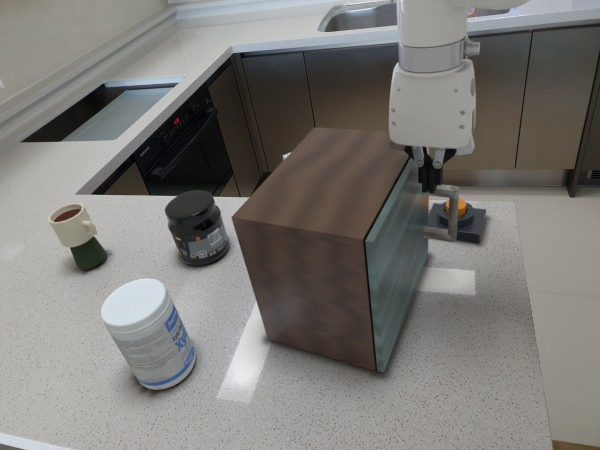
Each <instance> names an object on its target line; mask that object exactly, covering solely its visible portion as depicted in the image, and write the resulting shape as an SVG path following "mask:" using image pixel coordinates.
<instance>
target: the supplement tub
mask: <svg viewBox="0 0 600 450" xmlns="http://www.w3.org/2000/svg"><path fill="white" fill-rule="evenodd" d="M100 317H101V319H102V321H103V324H104V327H105V329H106V330H107V332H108V333H109V335H110V337H111V338H112V340H113V341H114V343H115V345H116V347H117V349H118V350H119V352H120V353H121V356H123V358H124V360H125V362H126V363H127V365H128V366H129V368H130V370H131V371H132V374H133V375H134V376H135V378H136V380H137V381H138V382H139V384H141V386H143V387H145V388H146V389H150V390H155V391H158V390H165V389H166V390H167V389H169V388H172V387H173V386H176V385H177V384H179V383H180V382H182V381H183V380H184V379H185V378H186V377H187V376H188V375H189V374H190V373H191V371H192V370H193V368H194V365H195V363H196V357H197V353H196V348H195V347H194V344H193V341H192V340H191V338H190V336H189V334H188V331H187V329H186V326H185V324H184V323H183V320H182V318H181V316H180V313H179V311H178V309H177V308H176V305H175V303H174V300H173V298H172V296H171V294H170V292H169V291H168V289H167V288H166V286H165V285H164V283H162V281H160V280H158V279H156V278H146V277H145V278H139V279H135V280H132V281H128V282H126V283H125V284H122V285H121V286H119V287H117V288H116V289H115V290H113V291H112V292H111V293H110V294H109V295H108V296H107V298H106V299H105V300H104V302H103V303H102V306H101V309H100Z"/></svg>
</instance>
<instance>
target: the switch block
mask: <svg viewBox="0 0 600 450" xmlns="http://www.w3.org/2000/svg"><path fill="white" fill-rule="evenodd" d="M447 201H448V200H447ZM447 201H444V202H443V203H437V202H434V203H432V207H431V209H430V210H429V220H428V227H433V228H440V229H447V230H448V214H447V213H446V202H447ZM486 218H487V209H486V208H477V207H473V205H472V204H470V203H468V202H466V213H465V214H464V215H463V216H459V217H458V222H457V239H456V241H459V242H466V243H472V244H480V241H481V237H482V233H483V230H484V226H485V222H486Z"/></svg>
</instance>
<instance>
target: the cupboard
mask: <svg viewBox="0 0 600 450" xmlns="http://www.w3.org/2000/svg"><path fill="white" fill-rule="evenodd" d="M390 141H391V139H390V134H389V131H383V130H368V129H367V130H365V129H352V128H351V129H350V128H335V127H334V128H333V127H331V128H330V127H316V126H315V127H313V128H312V130H310V132H308V133H307V135H306V136H305V137H304V138H303V139H301V141H300V142H299V143H298V144H297V146H296V147H294V148H293V150H292V151H291V152H289V153H290V154H289V155H288V156H287V158H286V159H285V160H284V161H282V162H280V164H279V165H278V166H277V167H276V168H275V169H274V170H273V171H272V172H271V174H270V175H269V176H268V177H267V178H266V179H265V180H264V181H263V182H262V183H261V185H260V186H259V187H258V188H257V189H256V190H255V191H254V192H253V193H252V194H250V196H249V197H248V198H247V200H246V201H245V202H244V203H243V204H242V205H241V206H240V207H239V208H238V209H237V210H236V211H235V213H233V215H232V216H230V217H231V221H232V224H233V228H234V231H235V234H236V238H237V242H238V245H239V248H240V251H241V254H242V257H243V262H244V265H245V268H246V271H247V275H248V278H249V282H250V284H251V288H252V291H253V294H254V298H255V302H256V304H257V308H258V311H259V314H260V318H261V321H262V325H263V327H264V331H265V334H266V337H267V340H269V341H272V342H275V343H279V344H282V345H285V346H289V347H292V348H296V349H299V350H302V351H305V352H309V353H312V354H316V355H319V356H323V357H326V358H329V359H333V360H336V361H339V362H343V363H346V364H350V365H353V366H357V367H359V368H363V369H366V370H369V371H373V372H376V371H377V362H376V351H375V340H374V329H373V319H372V308H371V297H370V286H369V275H368V264H367V254H366V243H365V240H366V239H367V237H368V235H369V233H370V231H371V229H372V228H373V226H374V224H375V222H376V220H377V218H378V217H379V215H380V213H381V211H382V209H383V207H384V206H385V204H386V202H387V200H388V198H389V196H390V195H391V193H392V191H393V189H394V187H395V185H396V183H397V182H398V180H399V178H400V176H401V174H402V172H403V171H404V169H405V167H406V165H407V163H408V161H409V160H410V158H411V157H410V156H409V155H408V154H407V153H406V152H404V151H399V150H396V149H392V148H391V147H390Z"/></svg>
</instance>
